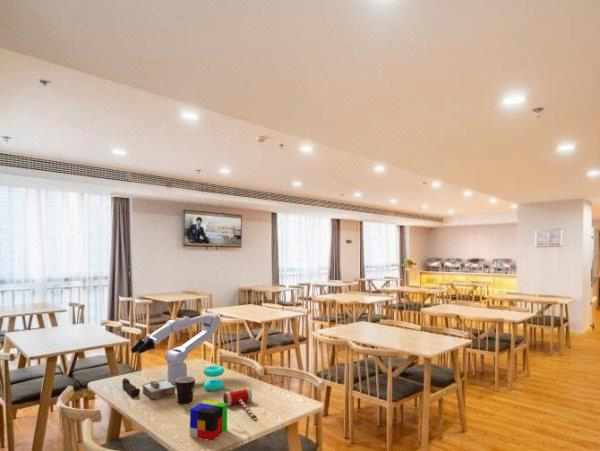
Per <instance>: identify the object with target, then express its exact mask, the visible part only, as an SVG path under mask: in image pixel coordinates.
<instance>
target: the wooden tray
mask: <svg viewBox="0 0 600 451" xmlns="http://www.w3.org/2000/svg"><path fill="white" fill-rule="evenodd" d="M165 380H166V379H161V380H157V381H156V380H155V381H156V382H160V381H165ZM146 384H151V382H147V383H143V384H142V393H143V394H144V395H145V396H146V397H147V398H149V399H150V400H152V401H153V400H154V401H155V400H158V399H162V398H163V399H164V398H166V397H171V396H174V395H176V389H177V388H176V385H173V386H174V387H170V388H165V389H161V390H157V391H152V393H151V392H150V391H149V390H147V389H146V388H145V387H143V385H146Z"/></svg>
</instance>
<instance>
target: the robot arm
mask: <svg viewBox="0 0 600 451" xmlns="http://www.w3.org/2000/svg"><path fill="white" fill-rule="evenodd" d="M221 322H222V319H221V316H220V315H213V314H209V313H206V314H202V315H198V316H194V317H188V316H186V315H185V316H183V317H182V318H175V319H174V320H173V319H169V320H167V321H166V322H165V324H164V325H163V326H161V327H159V328H158V329H156V330H155V331H154V332H152V333H150V334H149V333H146V334H145V338H144V339H142V338H139V339H138V340H137V342H136V344H134V346H133V347H131V348H130V351H131V353H132V354H135V353H137V352H138V353H139V354H143V353H145V352H147V351H149V350H155V349H156V347H155V346H156V345H158V344H159V343H161V342H162V341H163V340H165V339H167V337H169V336H170V335H172V334H174V333H179V332H180V330H185V329H188V328H191V326H192V325H197V324H202V325H201V326H202V331H200V332H199V333H197V334H196V335H195V336H192V338H191V339H189V340H188V341H186V342H185V343H183V344H182V345H181V346H177V347H174V348H173V349H169V350H167V351H166V353H165V355H164V359H165V361H166V362H167V363H166V364H167V376H166V377H167V378H166V379H165V380H166V381H167V382H169V383H170V384H172V385H174V384H175V385H176V379H178V378H180V377H186V376H188V367H187V364H186V362H185V360H186V359H187V358H188V354H190V353H191V352H192V351H194V350H195V349H196V348H198V347H199V346H200V345H201V344H203V343H204V342H206V341H207V340H208V339H210V338H211V337H212V336H213V335H214V333H215V332H216V331H217V329H218V328H219V327H221Z"/></svg>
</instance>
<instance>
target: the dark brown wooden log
mask: <svg viewBox="0 0 600 451" xmlns="http://www.w3.org/2000/svg"><path fill="white" fill-rule="evenodd" d="M121 381H122V388H123V390H125V391H126V392H128V394H130V397H131V398H138V397H139V395H140V393H141V390H140V388H137V387H136V386H135V385H133V384H132V383H131V382H130V380H129V378H125V377H124V378H122V380H121Z"/></svg>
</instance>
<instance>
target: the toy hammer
mask: <svg viewBox="0 0 600 451" xmlns="http://www.w3.org/2000/svg"><path fill="white" fill-rule="evenodd" d="M222 398H223V399H222V400H223V403H227V408H229V406H230V407H231V406H233V405H238V404H240V405H241V406H242V408H243V409H244V410H245V411H246V412H247V413H248V415H249V416H250V417H251V420H252V419H254V418H257V415H256V414H254V413H253V411H251V410H250V408H249V407H248V405H246V403H247V402H250V403H251V402H252V399H253V395H252V391H251V388H250V387H245V388H244V389H240V390H234V391H229V390H228V391H224V393H223V397H222ZM257 419H258V418H257Z"/></svg>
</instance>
